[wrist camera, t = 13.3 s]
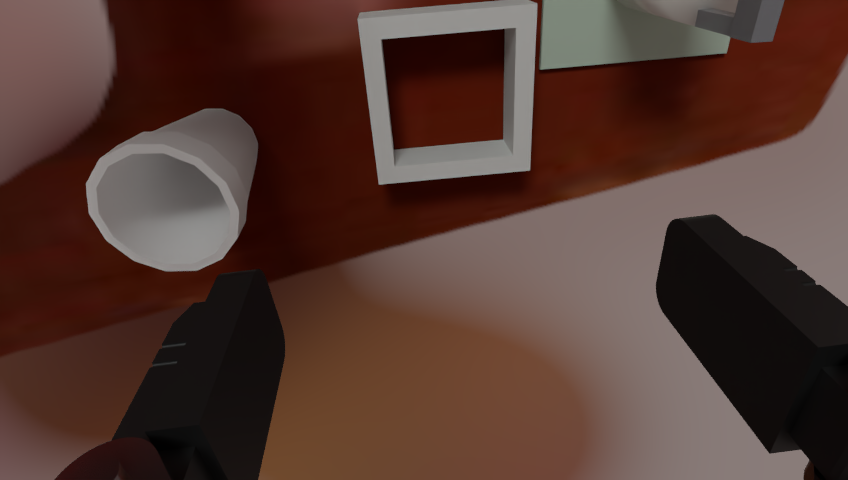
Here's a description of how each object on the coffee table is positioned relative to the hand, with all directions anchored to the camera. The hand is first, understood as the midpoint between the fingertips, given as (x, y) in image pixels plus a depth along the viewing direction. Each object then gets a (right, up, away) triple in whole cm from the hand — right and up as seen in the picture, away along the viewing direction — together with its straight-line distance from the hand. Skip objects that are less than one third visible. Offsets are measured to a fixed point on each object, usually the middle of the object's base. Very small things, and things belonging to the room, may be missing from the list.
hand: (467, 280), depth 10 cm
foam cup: (-19, +9, +33) cm, 39 cm away
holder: (+1, +14, +32) cm, 35 cm away
